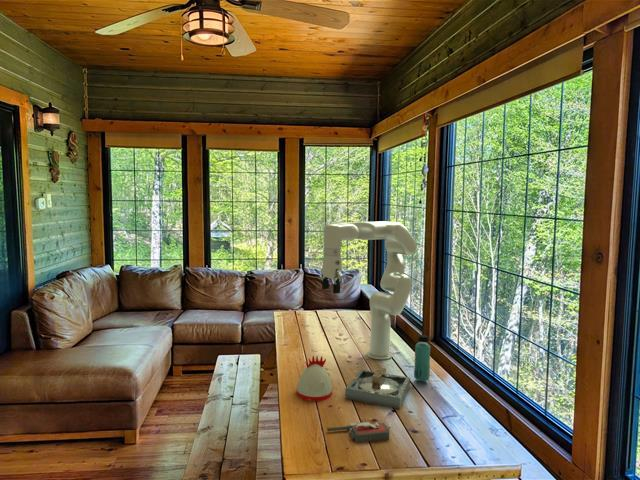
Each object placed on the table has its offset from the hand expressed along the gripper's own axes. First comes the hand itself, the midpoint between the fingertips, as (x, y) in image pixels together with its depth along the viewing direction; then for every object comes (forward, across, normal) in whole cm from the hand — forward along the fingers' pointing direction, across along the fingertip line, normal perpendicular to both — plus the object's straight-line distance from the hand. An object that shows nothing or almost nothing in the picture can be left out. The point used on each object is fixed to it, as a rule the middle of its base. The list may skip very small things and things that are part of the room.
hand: (330, 291), depth 194 cm
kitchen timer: (+36, -18, +16) cm, 44 cm away
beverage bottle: (+36, -28, -30) cm, 54 cm away
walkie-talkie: (+37, -52, +18) cm, 66 cm away
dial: (+33, -29, -7) cm, 45 cm away
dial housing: (+36, -29, -7) cm, 46 cm away
